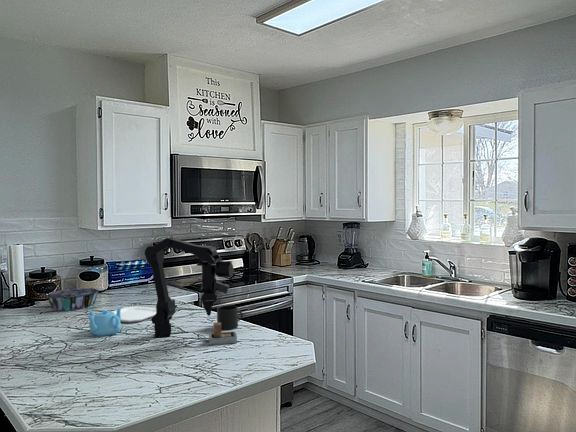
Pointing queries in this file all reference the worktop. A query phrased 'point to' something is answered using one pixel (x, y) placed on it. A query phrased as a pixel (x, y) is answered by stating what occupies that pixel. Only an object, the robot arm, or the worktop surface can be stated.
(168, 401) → the worktop surface
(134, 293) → the worktop surface
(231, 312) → the mug
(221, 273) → the robot arm
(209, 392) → the worktop surface
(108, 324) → the teapot
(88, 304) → the decorative bowl
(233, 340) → the grey rectangular tray
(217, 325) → the tan toy chair
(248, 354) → the worktop surface
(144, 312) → the plate
